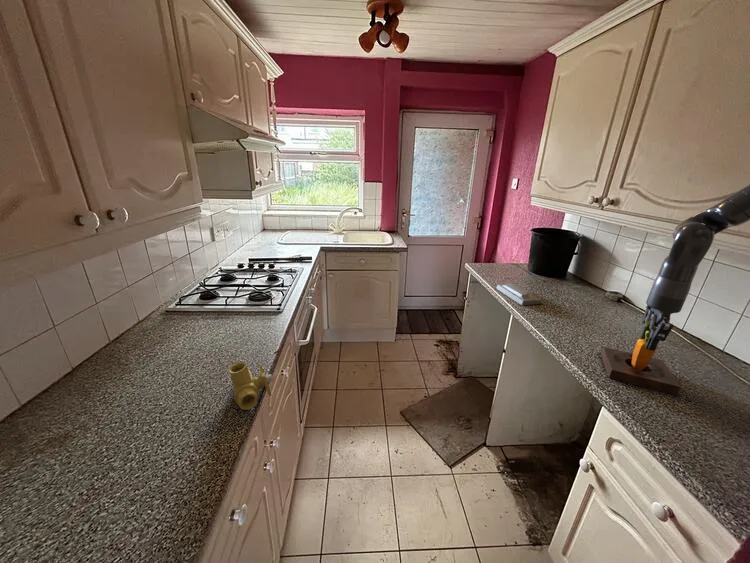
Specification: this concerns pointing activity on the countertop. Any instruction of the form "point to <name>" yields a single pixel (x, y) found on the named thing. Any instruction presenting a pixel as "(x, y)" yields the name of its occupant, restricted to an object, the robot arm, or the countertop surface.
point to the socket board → (649, 377)
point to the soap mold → (518, 294)
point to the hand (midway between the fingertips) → (647, 344)
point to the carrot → (642, 354)
